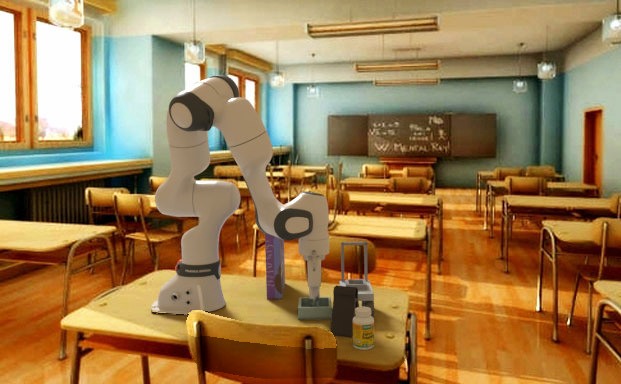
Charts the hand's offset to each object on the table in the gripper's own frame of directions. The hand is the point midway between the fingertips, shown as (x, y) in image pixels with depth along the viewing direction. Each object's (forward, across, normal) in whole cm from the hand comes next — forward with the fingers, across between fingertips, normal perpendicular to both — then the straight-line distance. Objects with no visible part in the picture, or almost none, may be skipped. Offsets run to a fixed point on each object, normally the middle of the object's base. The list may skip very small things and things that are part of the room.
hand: (314, 293), depth 157 cm
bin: (+6, 0, 0) cm, 6 cm away
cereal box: (+6, +23, +13) cm, 27 cm away
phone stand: (+6, -13, -8) cm, 17 cm away
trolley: (+6, 0, -12) cm, 14 cm away
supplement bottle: (+6, -24, -12) cm, 28 cm away
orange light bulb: (+4, 0, 0) cm, 4 cm away
